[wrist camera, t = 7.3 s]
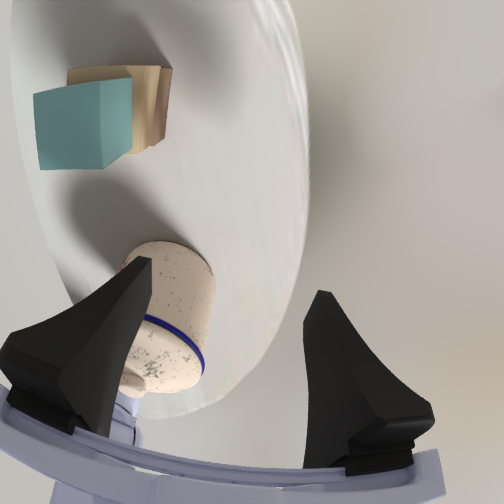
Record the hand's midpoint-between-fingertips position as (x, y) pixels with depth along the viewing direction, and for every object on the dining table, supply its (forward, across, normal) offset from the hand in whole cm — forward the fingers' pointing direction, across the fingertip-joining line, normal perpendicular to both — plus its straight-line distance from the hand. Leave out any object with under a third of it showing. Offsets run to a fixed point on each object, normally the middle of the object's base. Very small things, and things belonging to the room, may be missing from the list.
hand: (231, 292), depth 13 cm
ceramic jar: (+11, +5, +11) cm, 16 cm away
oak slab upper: (+8, +9, -6) cm, 13 cm away
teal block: (+6, +9, -5) cm, 12 cm away
